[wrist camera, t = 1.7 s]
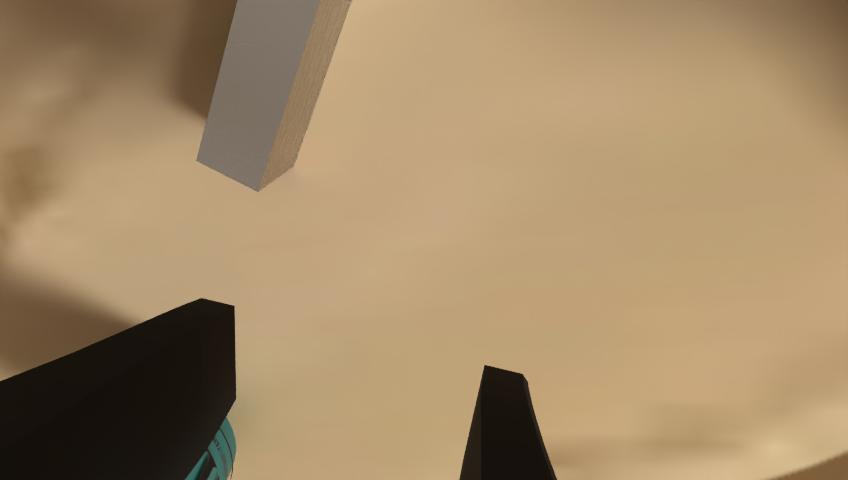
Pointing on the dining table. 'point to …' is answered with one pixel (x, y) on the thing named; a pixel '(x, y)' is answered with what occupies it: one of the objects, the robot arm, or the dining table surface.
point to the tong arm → (269, 86)
